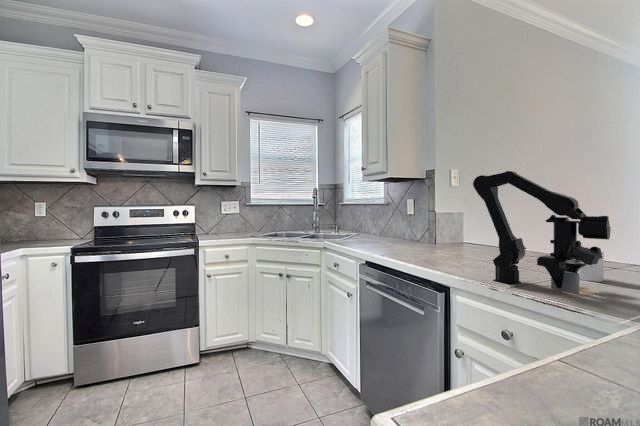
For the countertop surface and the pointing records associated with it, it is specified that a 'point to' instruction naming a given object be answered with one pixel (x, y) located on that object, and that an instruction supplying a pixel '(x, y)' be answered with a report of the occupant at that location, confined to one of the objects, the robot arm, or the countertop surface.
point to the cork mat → (582, 291)
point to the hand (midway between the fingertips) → (564, 286)
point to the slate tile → (568, 283)
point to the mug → (592, 271)
